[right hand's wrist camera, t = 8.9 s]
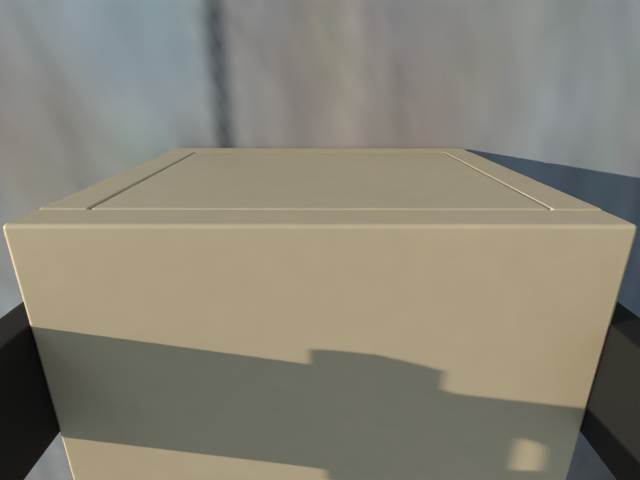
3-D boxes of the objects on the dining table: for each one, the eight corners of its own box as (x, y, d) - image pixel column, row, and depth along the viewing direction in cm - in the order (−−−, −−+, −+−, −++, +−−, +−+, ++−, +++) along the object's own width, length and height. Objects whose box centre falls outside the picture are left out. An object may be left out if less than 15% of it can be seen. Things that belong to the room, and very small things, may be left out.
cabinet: (419, 507, 24) (483, 776, 14) (219, 507, 24) (155, 776, 14) (462, 148, 17) (641, 224, 7) (177, 147, 17) (-1, 224, 7)
